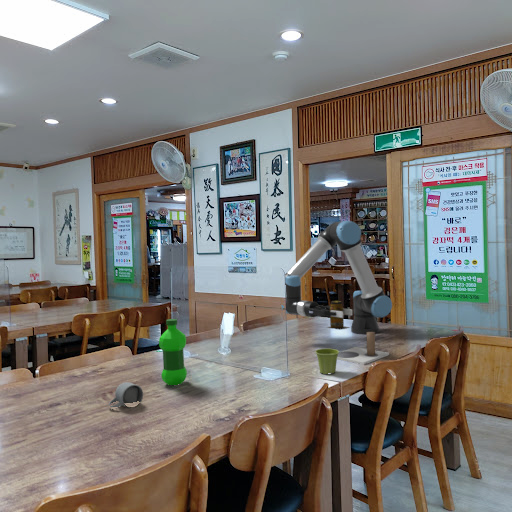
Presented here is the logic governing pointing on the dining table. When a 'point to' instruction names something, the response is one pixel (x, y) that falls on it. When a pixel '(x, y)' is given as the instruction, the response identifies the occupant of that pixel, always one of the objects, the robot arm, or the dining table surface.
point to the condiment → (337, 321)
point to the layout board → (362, 352)
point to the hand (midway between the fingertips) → (347, 313)
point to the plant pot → (327, 360)
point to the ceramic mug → (127, 394)
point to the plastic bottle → (173, 354)
